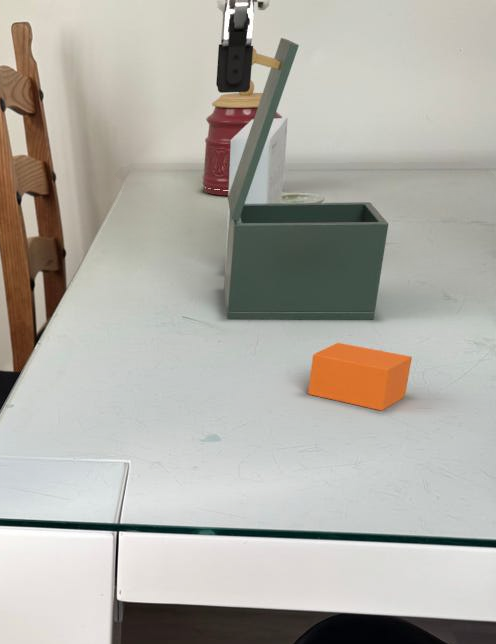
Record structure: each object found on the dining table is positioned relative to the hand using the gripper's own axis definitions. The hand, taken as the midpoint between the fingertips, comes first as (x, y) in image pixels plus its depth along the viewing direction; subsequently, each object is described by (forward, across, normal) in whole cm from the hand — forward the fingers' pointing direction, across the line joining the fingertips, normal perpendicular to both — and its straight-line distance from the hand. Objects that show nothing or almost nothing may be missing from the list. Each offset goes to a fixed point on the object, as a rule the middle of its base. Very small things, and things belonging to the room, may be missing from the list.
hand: (232, 87), depth 104 cm
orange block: (+22, -31, -11) cm, 40 cm away
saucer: (+22, +57, -13) cm, 62 cm away
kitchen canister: (+22, +79, -6) cm, 82 cm away
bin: (+22, 0, -9) cm, 24 cm away
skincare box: (+22, +24, -5) cm, 33 cm away
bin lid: (+4, 0, -4) cm, 5 cm away
